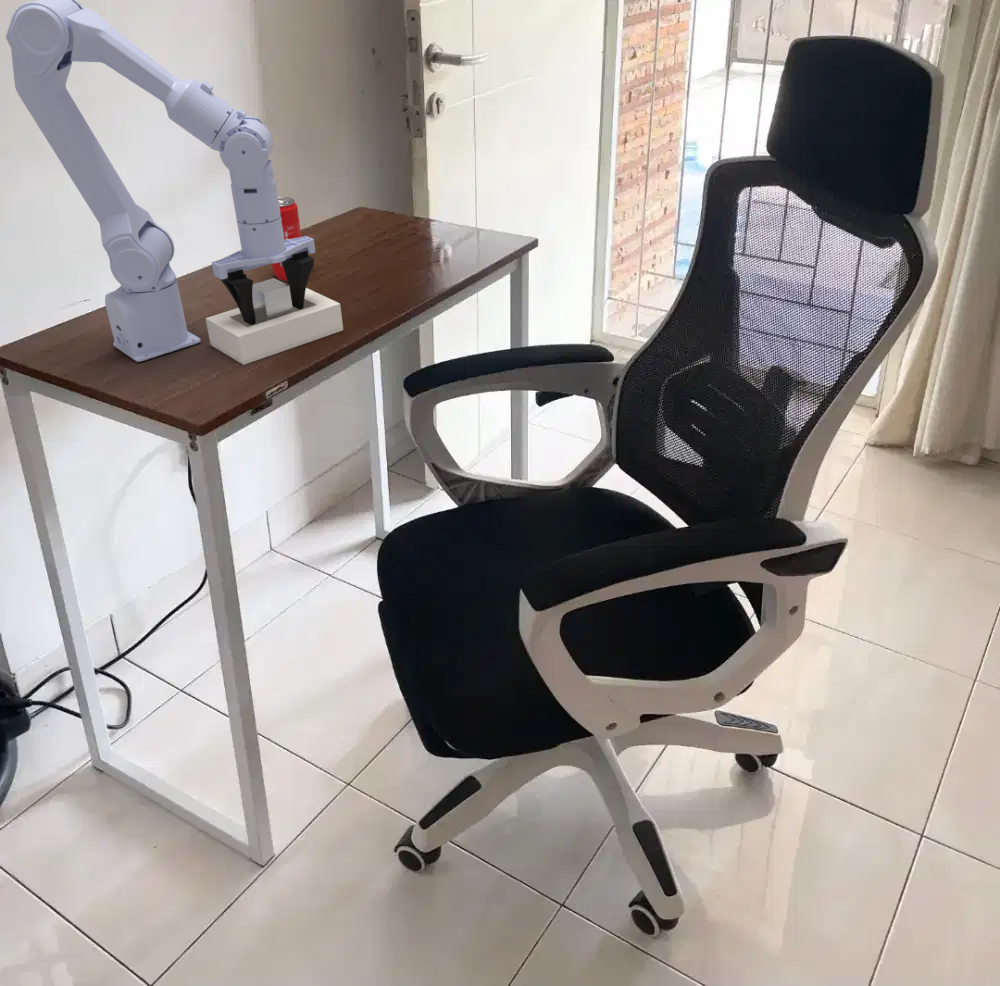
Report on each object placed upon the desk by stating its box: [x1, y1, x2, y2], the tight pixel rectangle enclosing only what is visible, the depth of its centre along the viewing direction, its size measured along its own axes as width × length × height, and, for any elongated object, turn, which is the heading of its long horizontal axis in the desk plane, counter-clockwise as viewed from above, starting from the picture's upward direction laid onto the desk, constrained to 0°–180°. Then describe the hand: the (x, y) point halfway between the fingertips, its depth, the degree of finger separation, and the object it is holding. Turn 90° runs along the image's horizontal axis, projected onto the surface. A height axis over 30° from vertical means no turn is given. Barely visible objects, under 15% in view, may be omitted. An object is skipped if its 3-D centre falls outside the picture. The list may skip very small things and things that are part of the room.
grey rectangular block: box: [252, 277, 293, 325], centre depth 139 cm, size 4×4×7 cm
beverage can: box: [271, 196, 302, 282], centre depth 158 cm, size 5×5×12 cm
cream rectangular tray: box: [205, 287, 344, 366], centre depth 140 cm, size 16×9×4 cm, turn 132°
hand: (274, 314), depth 139 cm, fingers open, 7 cm apart
